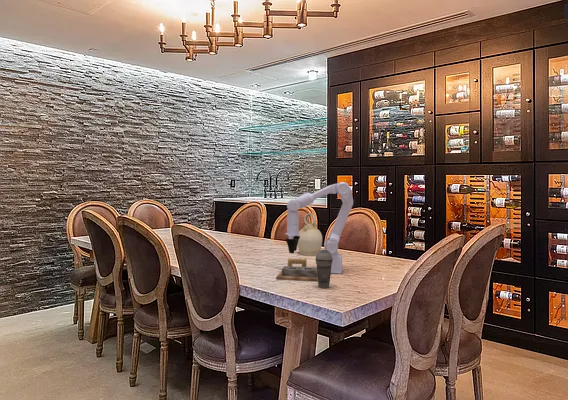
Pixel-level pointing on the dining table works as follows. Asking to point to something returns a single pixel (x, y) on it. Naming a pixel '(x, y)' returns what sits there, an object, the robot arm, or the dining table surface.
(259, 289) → the dining table surface
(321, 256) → the beverage cup
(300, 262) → the pine wood offcut
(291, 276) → the rail board
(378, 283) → the dining table surface
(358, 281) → the dining table surface
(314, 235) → the jug
